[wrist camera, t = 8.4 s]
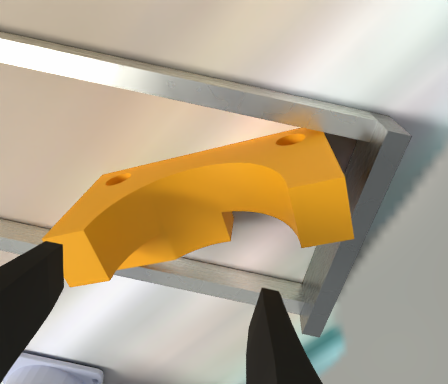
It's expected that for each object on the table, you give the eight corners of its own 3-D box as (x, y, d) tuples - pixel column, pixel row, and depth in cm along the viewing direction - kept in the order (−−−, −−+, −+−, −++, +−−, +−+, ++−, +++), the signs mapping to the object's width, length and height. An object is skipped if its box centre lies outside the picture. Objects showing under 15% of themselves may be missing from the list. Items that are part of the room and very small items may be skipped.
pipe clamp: (132, 236, 22) (87, 316, 17) (103, 173, 20) (41, 238, 15) (331, 197, 20) (359, 275, 14) (318, 122, 18) (345, 176, 12)
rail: (312, 298, 23) (319, 337, 20) (-154, 198, 23) (-209, 223, 20) (389, 115, 17) (411, 136, 15) (-229, -19, 17) (-318, -23, 15)
